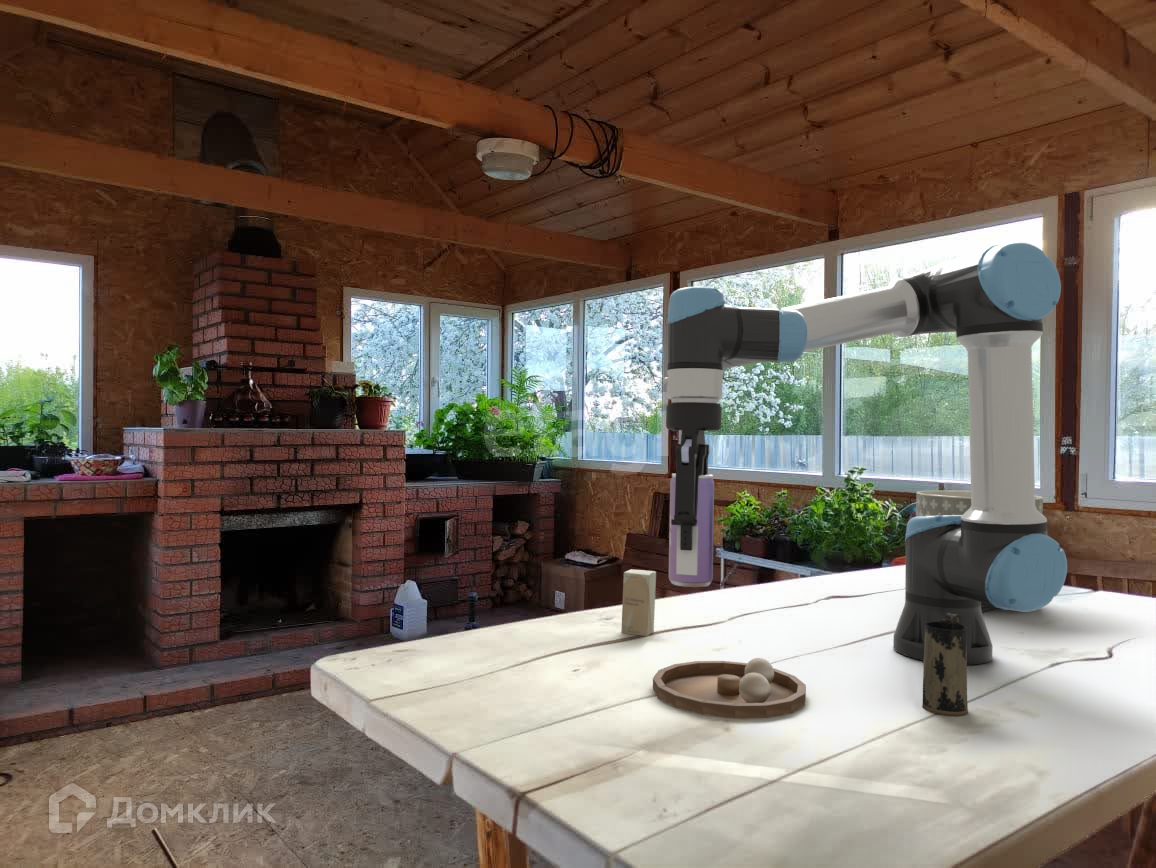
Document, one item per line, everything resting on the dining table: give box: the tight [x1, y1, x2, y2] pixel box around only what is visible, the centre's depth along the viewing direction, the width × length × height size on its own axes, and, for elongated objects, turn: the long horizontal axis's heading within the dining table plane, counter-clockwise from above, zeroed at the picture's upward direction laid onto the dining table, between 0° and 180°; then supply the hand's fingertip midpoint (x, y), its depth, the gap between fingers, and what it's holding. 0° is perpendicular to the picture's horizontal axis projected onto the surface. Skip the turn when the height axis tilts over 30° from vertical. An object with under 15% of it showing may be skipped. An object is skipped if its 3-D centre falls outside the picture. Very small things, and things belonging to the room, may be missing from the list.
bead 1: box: [745, 657, 775, 684], centre depth 113 cm, size 4×4×4 cm
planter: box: [915, 489, 1044, 608], centre depth 181 cm, size 25×25×24 cm
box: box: [620, 568, 657, 637], centre depth 148 cm, size 5×4×11 cm
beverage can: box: [668, 472, 715, 588], centre depth 113 cm, size 6×6×15 cm
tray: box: [652, 660, 807, 719], centre depth 111 cm, size 20×20×3 cm
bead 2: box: [739, 673, 770, 703], centre depth 106 cm, size 4×4×4 cm
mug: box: [921, 613, 969, 717], centre depth 109 cm, size 8×6×12 cm
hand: (690, 570), depth 113 cm, fingers closed on beverage can, 6 cm apart
